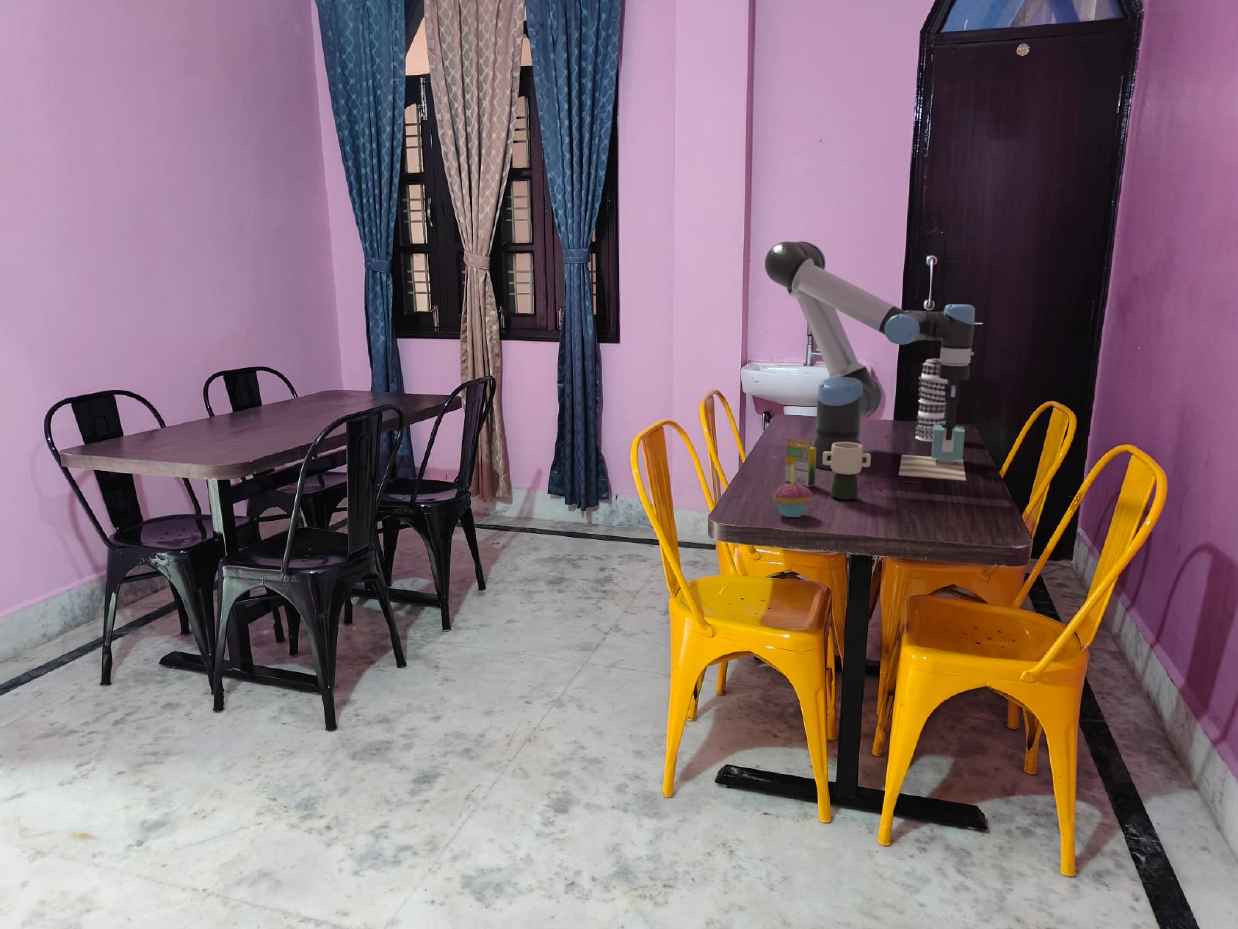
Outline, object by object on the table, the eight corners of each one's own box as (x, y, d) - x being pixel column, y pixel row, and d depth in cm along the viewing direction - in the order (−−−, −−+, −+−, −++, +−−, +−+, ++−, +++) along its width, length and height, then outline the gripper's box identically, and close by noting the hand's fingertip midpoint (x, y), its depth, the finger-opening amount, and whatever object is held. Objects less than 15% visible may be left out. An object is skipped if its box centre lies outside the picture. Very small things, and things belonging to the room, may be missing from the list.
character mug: (867, 495, 203) (870, 442, 200) (868, 503, 196) (872, 449, 193) (820, 493, 205) (823, 440, 202) (820, 501, 199) (823, 447, 195)
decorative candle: (913, 435, 271) (920, 357, 265) (944, 437, 268) (952, 358, 262) (913, 440, 263) (920, 360, 257) (945, 442, 260) (952, 361, 254)
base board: (965, 486, 211) (965, 480, 211) (898, 480, 216) (898, 475, 216) (962, 464, 233) (962, 459, 232) (901, 460, 238) (901, 454, 238)
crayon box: (815, 485, 212) (817, 440, 209) (807, 487, 210) (810, 442, 207) (791, 479, 217) (793, 435, 215) (784, 481, 215) (786, 437, 213)
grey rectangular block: (953, 464, 227) (955, 442, 225) (937, 463, 228) (939, 441, 227) (953, 461, 231) (955, 439, 229) (937, 459, 232) (939, 438, 230)
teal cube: (962, 460, 224) (964, 431, 222) (931, 458, 227) (934, 429, 225) (961, 454, 231) (963, 426, 229) (931, 452, 234) (934, 424, 232)
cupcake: (768, 510, 192) (770, 458, 189) (805, 509, 192) (808, 458, 189) (778, 521, 183) (780, 468, 180) (816, 520, 184) (819, 467, 181)
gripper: (971, 369, 212) (963, 457, 218) (968, 360, 231) (960, 441, 237) (940, 368, 215) (932, 455, 220) (939, 359, 234) (932, 439, 239)
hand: (947, 448), depth 228 cm, fingers closed on teal cube, 8 cm apart
